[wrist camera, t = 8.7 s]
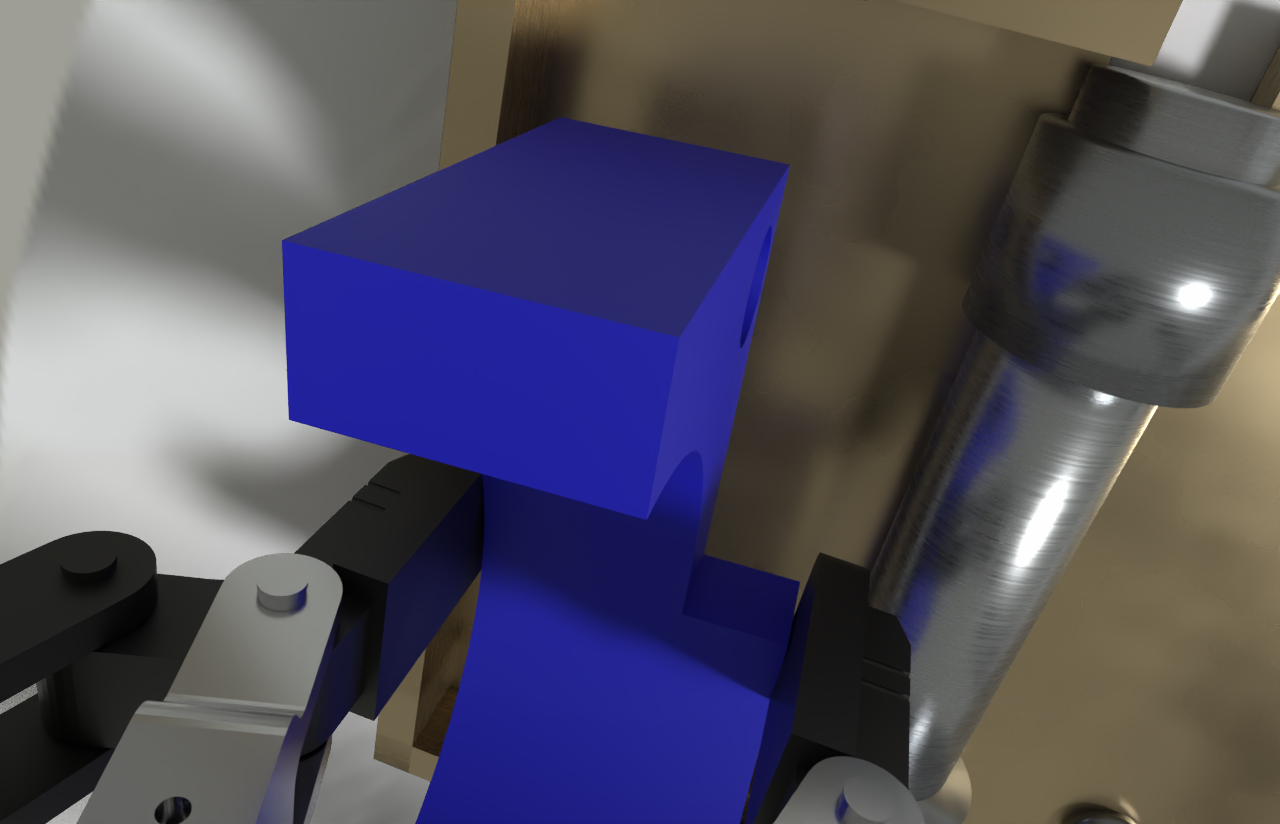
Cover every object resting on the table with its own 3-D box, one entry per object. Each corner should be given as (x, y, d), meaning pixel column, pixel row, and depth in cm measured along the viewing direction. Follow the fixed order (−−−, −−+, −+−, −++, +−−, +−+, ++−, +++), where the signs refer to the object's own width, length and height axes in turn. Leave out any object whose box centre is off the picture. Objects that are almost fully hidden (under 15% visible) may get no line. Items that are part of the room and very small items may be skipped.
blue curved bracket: (725, 841, 17) (638, 1238, 12) (495, 764, 18) (315, 1103, 12) (911, 190, 11) (904, 391, 6) (561, 116, 12) (281, 239, 7)
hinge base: (1811, 150, 11) (2131, 219, 8) (1140, 956, 19) (1179, 1136, 16) (547, -163, 13) (440, -196, 10) (426, 681, 22) (348, 795, 19)
